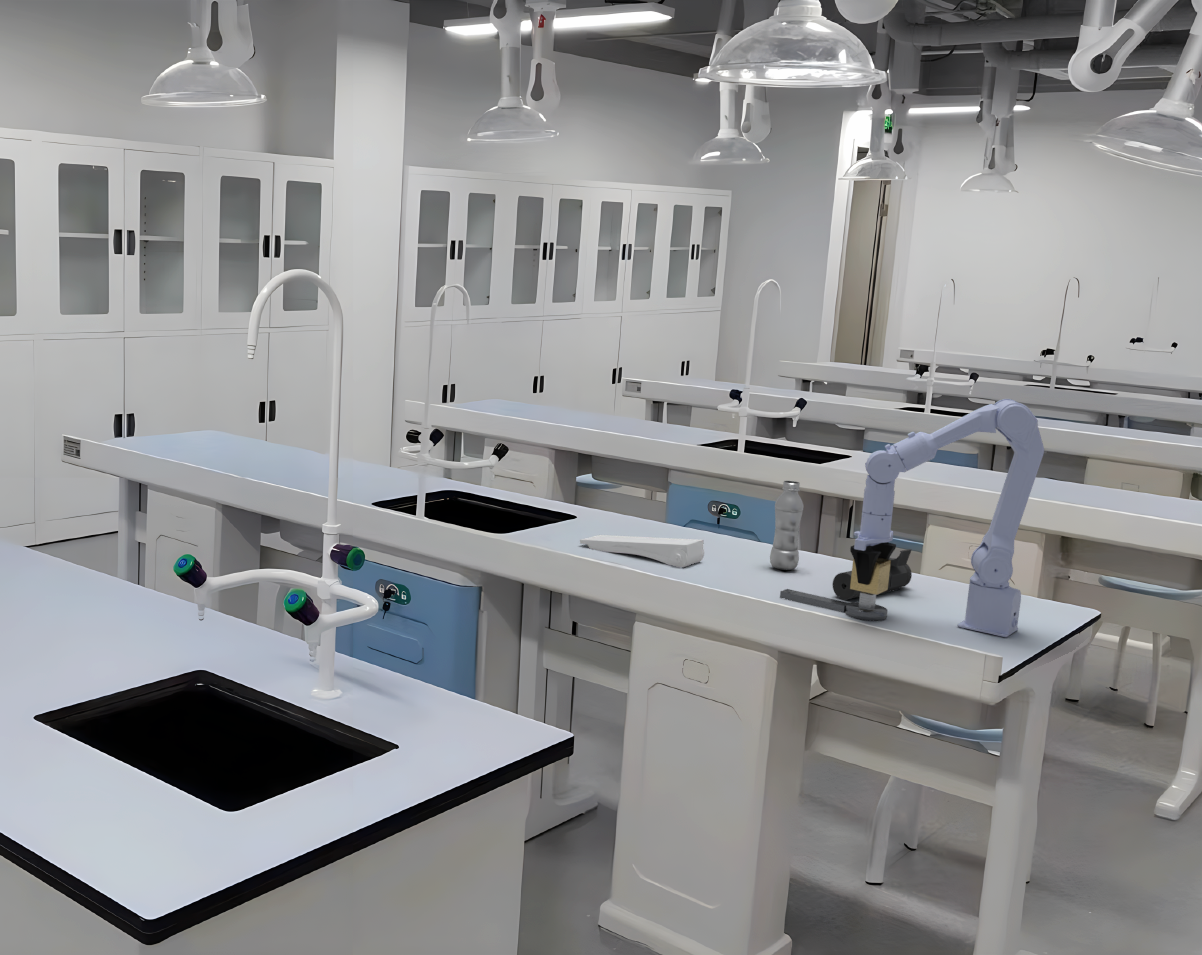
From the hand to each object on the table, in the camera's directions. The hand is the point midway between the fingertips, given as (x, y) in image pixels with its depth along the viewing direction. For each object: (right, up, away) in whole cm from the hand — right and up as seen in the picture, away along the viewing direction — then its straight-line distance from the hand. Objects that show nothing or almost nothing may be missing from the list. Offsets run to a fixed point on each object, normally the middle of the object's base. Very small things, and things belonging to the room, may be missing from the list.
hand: (869, 581), depth 228 cm
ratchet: (-6, -6, +5) cm, 10 cm away
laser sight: (+5, -5, +20) cm, 21 cm away
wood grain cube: (0, -2, 0) cm, 2 cm away
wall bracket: (-43, +2, +40) cm, 59 cm away
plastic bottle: (-11, -1, +35) cm, 37 cm away
